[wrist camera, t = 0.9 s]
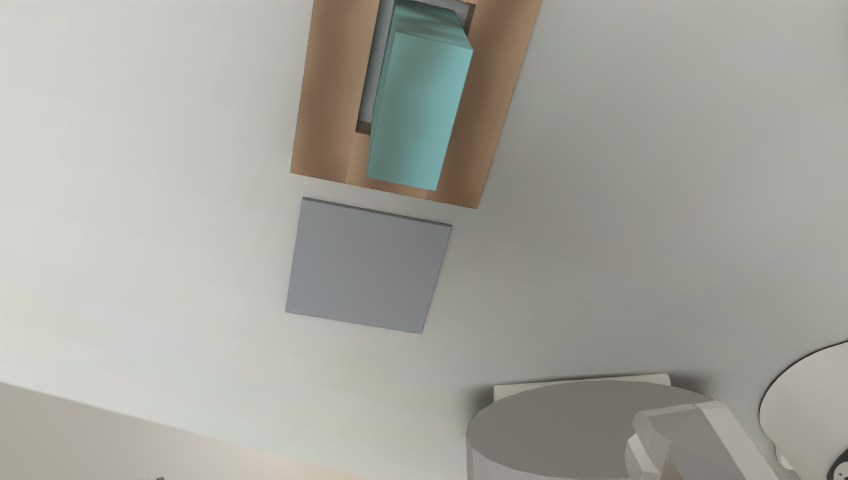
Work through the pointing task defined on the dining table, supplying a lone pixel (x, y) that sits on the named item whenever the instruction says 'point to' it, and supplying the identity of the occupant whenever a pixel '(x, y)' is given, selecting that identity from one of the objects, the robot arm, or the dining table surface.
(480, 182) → the walnut slot holder
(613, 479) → the alarm clock
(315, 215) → the slate mat
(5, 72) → the dining table surface
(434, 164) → the teal tag
